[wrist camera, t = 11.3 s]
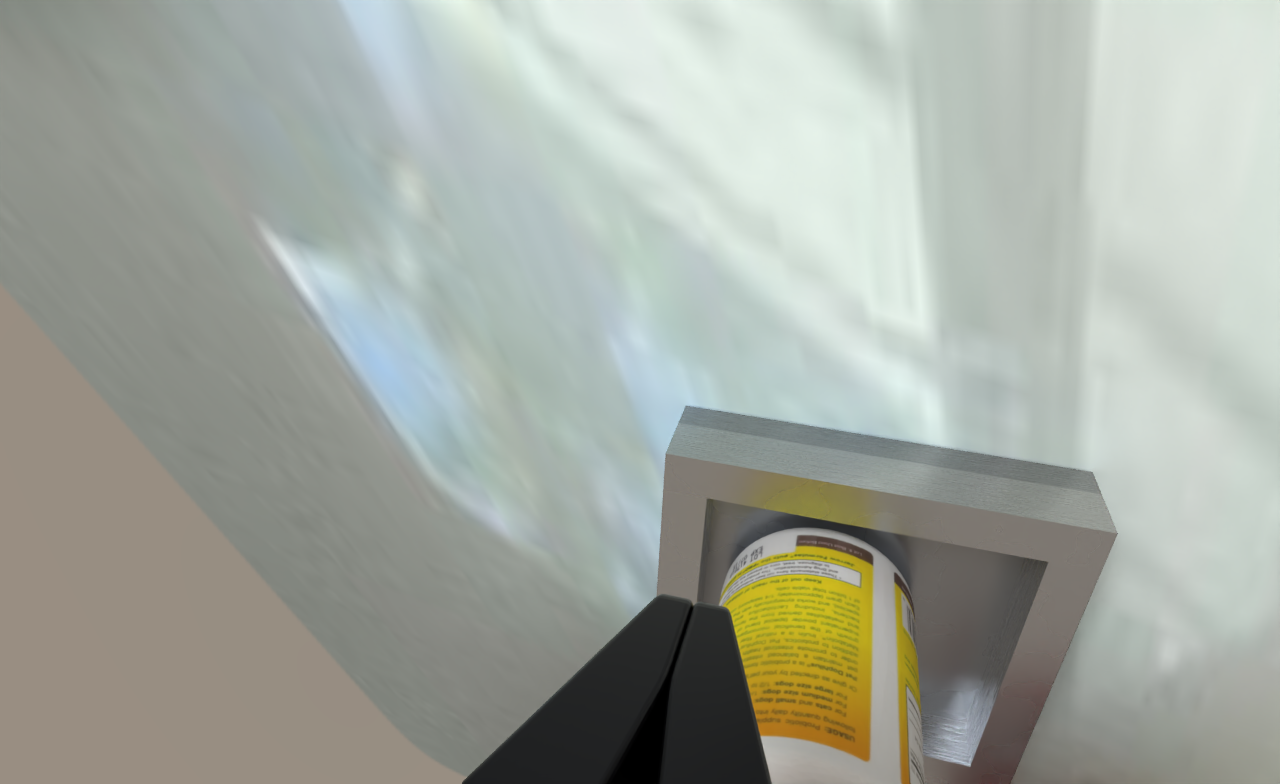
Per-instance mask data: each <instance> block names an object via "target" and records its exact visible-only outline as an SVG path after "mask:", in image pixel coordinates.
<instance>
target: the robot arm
mask: <svg viewBox="0 0 1280 784" xmlns="http://www.w3.org/2000/svg"><path fill="white" fill-rule="evenodd" d="M462 784H772V782H771V777H770V773H769V769H768V765H767V761H766V757H765V753H764V749H763V745H762V740H761V736H760V732H759V728H758V724H757V720H756V716H755V712H754V708H753V703H752V699H751V695H750V691H749V687H748V683H747V679H746V675H745V670H744V666H743V662H742V658H741V654H740V650H739V646H738V642H737V638H736V633H735V629H734V625H733V621H732V617H731V613H730V611H729V610H728V609H727V608H726V607H723V606H719V605H714V604H709V603H705V602H697V603H695V604H694V606H693V603H692V601H691V600H689V599H686V598H681V597H676V596H672V595H667V594H661V595H658V596H657V597H656V598H654V599H653V600H652V601H651V602H650V603H649V604H648V605H647V606H646V607H645V608H644V609H643V610H642V611H641V612H640V613H639V614H638V615H637V616H636V617H635V618H633V619H632V620H631V621H630V622H629V623H628V624H627V625H626V626H625V627H624V628H623V629H622V630H621V631H620V632H619V633H618V634H617V635H616V636H615V637H614V638H613V639H611V640H610V641H609V642H608V643H607V644H606V645H605V646H604V647H603V648H602V649H601V650H600V651H599V652H598V653H597V654H596V655H595V656H594V657H593V658H592V659H591V660H589V661H588V662H587V663H586V664H585V665H584V666H583V667H582V668H581V669H580V670H579V671H578V672H577V673H576V674H575V675H574V676H573V677H572V678H571V679H570V680H569V681H568V682H566V683H565V684H564V685H563V686H562V687H561V688H560V689H559V690H558V691H557V692H556V693H555V694H554V695H553V696H552V697H551V698H550V699H549V700H548V701H547V702H546V703H544V704H543V705H542V706H541V707H540V708H539V709H538V710H537V711H536V712H535V713H534V714H533V715H532V716H531V717H530V718H529V719H528V720H527V721H526V722H525V723H524V724H523V725H521V726H520V727H519V728H518V729H517V730H516V731H515V732H514V733H513V734H512V735H511V736H510V737H509V738H508V739H507V740H506V741H505V742H504V743H503V744H502V745H501V746H499V747H498V748H497V749H496V750H495V751H494V752H493V753H492V754H491V755H490V756H489V757H488V758H487V759H486V760H485V761H484V762H483V763H482V764H481V765H480V766H479V767H478V768H476V769H475V770H474V771H473V772H472V773H471V774H470V775H469V776H468V777H467V778H466V779H465V780H464V781H463V782H462Z"/></svg>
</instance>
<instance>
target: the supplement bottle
mask: <svg viewBox="0 0 1280 784" xmlns="http://www.w3.org/2000/svg"><path fill="white" fill-rule="evenodd" d="M719 606H723V607H726V608H727V609H728V610H729V611H730V613H731V617H732V621H733V625H734V629H735V633H736V638H737V642H738V646H739V650H740V654H741V658H742V662H743V666H744V670H745V675H746V679H747V683H748V687H749V691H750V695H751V699H752V703H753V708H754V712H755V716H756V720H757V724H758V728H759V732H760V736H761V740H762V745H763V749H764V753H765V757H766V761H767V765H768V769H769V773H770V777H771V782H772V784H925V776H924V758H923V736H922V723H921V704H920V690H919V672H918V654H917V640H916V627H915V613H914V605H913V599H912V595H911V593H910V590H909V587H908V585H907V583H906V581H905V579H904V578H903V576H902V574H901V573H900V572H899V570H898V569H897V567H896V566H895V565H894V564H893V563H892V562H891V561H890V560H889V559H888V558H887V557H886V556H885V555H883V554H882V553H881V552H880V551H878V550H877V549H876V548H874V547H873V546H871V545H869V544H867V543H866V542H864V541H862V540H860V539H858V538H856V537H853V536H850V535H848V534H845V533H841V532H838V531H834V530H829V529H821V528H804V527H803V528H792V529H786V530H782V531H778V532H775V533H772V534H769V535H767V536H765V537H762V538H761V539H759V540H757V541H755V542H754V543H752V544H751V545H749V546H748V547H747V548H745V549H744V550H743V551H742V552H741V553H740V554H739V556H738V557H737V558H736V559H735V561H734V562H733V564H732V565H731V567H730V569H729V571H728V573H727V575H726V578H725V581H724V585H723V588H722V591H721V597H720V602H719Z"/></svg>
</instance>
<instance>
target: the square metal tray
mask: <svg viewBox="0 0 1280 784" xmlns="http://www.w3.org/2000/svg"><path fill="white" fill-rule="evenodd" d="M803 527H804V528H821V529H829V530H834V531H838V532H841V533H845V534H848V535H850V536H853V537H856V538H858V539H860V540H862V541H864V542H866V543H867V544H869V545H871V546H873V547H874V548H876V549H877V550H878V551H880V552H881V553H882V554H883V555H885V556H886V557H887V558H888V559H889V560H890V561H891V562H892V563H893V564H894V565H895V566H896V567H897V569H898V570H899V572H900V573H901V574H902V576H903V578H904V579H905V581H906V583H907V585H908V587H909V590H910V593H911V595H912V599H913V605H914V613H915V627H916V640H917V654H918V672H919V690H920V704H921V723H922V736H923V758H924V776H925V783H927V784H1010V783H1011V780H1012V778H1013V776H1014V773H1015V771H1016V769H1017V766H1018V764H1019V762H1020V759H1021V757H1022V755H1023V752H1024V750H1025V748H1026V746H1027V743H1028V741H1029V739H1030V736H1031V734H1032V732H1033V729H1034V727H1035V725H1036V722H1037V720H1038V718H1039V715H1040V713H1041V711H1042V708H1043V706H1044V704H1045V701H1046V699H1047V697H1048V694H1049V692H1050V690H1051V687H1052V685H1053V683H1054V680H1055V678H1056V676H1057V673H1058V671H1059V669H1060V666H1061V664H1062V662H1063V659H1064V657H1065V655H1066V652H1067V650H1068V648H1069V645H1070V643H1071V641H1072V638H1073V636H1074V634H1075V631H1076V629H1077V627H1078V625H1079V622H1080V620H1081V618H1082V615H1083V613H1084V611H1085V608H1086V606H1087V604H1088V601H1089V599H1090V597H1091V594H1092V592H1093V590H1094V587H1095V585H1096V583H1097V580H1098V578H1099V576H1100V573H1101V571H1102V569H1103V566H1104V564H1105V562H1106V559H1107V557H1108V555H1109V552H1110V550H1111V548H1112V545H1113V543H1114V541H1115V538H1116V536H1117V534H1118V533H1117V531H1116V528H1115V526H1114V523H1113V521H1112V519H1111V516H1110V514H1109V511H1108V509H1107V506H1106V504H1105V501H1104V499H1103V497H1102V494H1101V492H1100V489H1099V487H1098V484H1097V482H1096V479H1095V477H1094V475H1093V472H1087V471H1081V470H1075V469H1069V468H1063V467H1057V466H1051V465H1045V464H1039V463H1032V462H1026V461H1020V460H1014V459H1008V458H1002V457H996V456H990V455H984V454H977V453H971V452H965V451H959V450H953V449H947V448H941V447H935V446H929V445H922V444H916V443H910V442H904V441H898V440H892V439H886V438H880V437H874V436H867V435H861V434H855V433H849V432H843V431H837V430H831V429H825V428H818V427H812V426H806V425H800V424H794V423H788V422H782V421H776V420H770V419H763V418H757V417H751V416H745V415H739V414H733V413H727V412H721V411H715V410H708V409H702V408H696V407H690V406H686V407H685V409H684V411H683V414H682V416H681V419H680V421H679V423H678V426H677V428H676V430H675V433H674V435H673V438H672V440H671V442H670V445H669V447H668V449H667V452H666V458H665V474H664V489H663V505H662V521H661V537H660V552H659V568H658V584H657V596H658V595H661V594H667V595H672V596H676V597H681V598H686V599H689V600H691V601H692V603H693V606H694V604H695V603H697V602H705V603H709V604H714V605H719V602H720V597H721V591H722V588H723V585H724V581H725V578H726V575H727V573H728V571H729V569H730V567H731V565H732V564H733V562H734V561H735V559H736V558H737V557H738V556H739V554H740V553H741V552H742V551H743V550H744V549H745V548H747V547H748V546H749V545H751V544H752V543H754V542H755V541H757V540H759V539H761V538H762V537H765V536H767V535H769V534H772V533H775V532H778V531H782V530H786V529H792V528H803Z"/></svg>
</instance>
